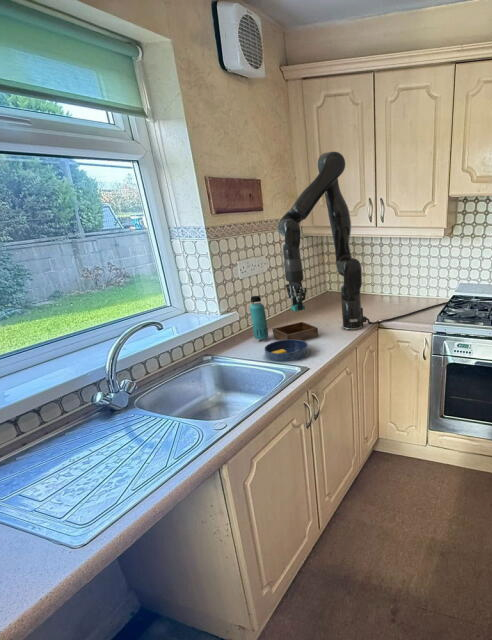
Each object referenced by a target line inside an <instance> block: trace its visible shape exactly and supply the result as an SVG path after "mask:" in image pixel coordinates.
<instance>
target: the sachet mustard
mask: <svg viewBox="0 0 492 640" xmlns="http://www.w3.org/2000/svg"><path fill="white" fill-rule="evenodd" d="M272 353H287V351H286V350H284V349H281V350H277V351H273V352H272Z"/></svg>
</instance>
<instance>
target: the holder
mask: <svg viewBox="0 0 492 640" xmlns="http://www.w3.org/2000/svg"><path fill="white" fill-rule="evenodd" d="M272 336H273V339H274V340H277V341H280V340H290V339H294V340H302V341H307V340H310V339H315V338H319V328H318V326H317V327H316V326H314V325H311V324H309V323H306V322H303V321H299V322H295V323H291V324H286V325H283V326H277V327H273V328H272Z"/></svg>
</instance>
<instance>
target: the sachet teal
mask: <svg viewBox="0 0 492 640" xmlns="http://www.w3.org/2000/svg"><path fill="white" fill-rule="evenodd" d="M305 310H306V305H305V304H303V309H302V310H298V306H297V305H293V304H292V305H290V311H293V312H299V311H305Z"/></svg>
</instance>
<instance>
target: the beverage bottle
mask: <svg viewBox="0 0 492 640" xmlns="http://www.w3.org/2000/svg"><path fill="white" fill-rule="evenodd" d="M261 301H262V298H261V296H260V295H252V296H251V297H250V302H251V304H250V306H249V312H250V318H251V325H252V331H253V338H254V339H255V340H264V339H267V338H269V329H268V321H267V313H266V311H265V305H264V304H263V303H261Z"/></svg>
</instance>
